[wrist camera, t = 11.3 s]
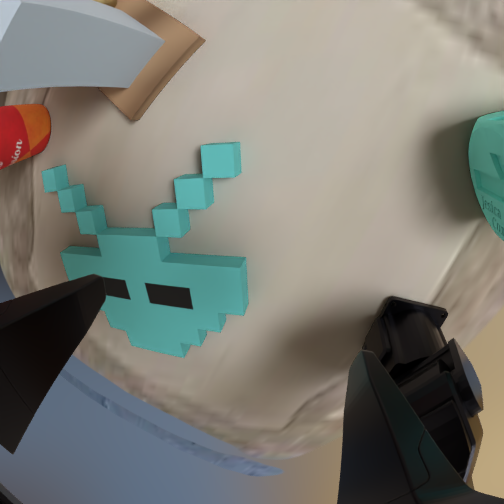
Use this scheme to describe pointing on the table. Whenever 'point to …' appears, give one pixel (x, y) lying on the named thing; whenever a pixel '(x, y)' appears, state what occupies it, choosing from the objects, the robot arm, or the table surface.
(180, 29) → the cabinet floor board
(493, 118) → the decorative dice
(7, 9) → the pale blue upright block
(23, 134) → the paper cup
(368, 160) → the table surface
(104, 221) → the alien figure
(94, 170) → the table surface
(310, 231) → the table surface
